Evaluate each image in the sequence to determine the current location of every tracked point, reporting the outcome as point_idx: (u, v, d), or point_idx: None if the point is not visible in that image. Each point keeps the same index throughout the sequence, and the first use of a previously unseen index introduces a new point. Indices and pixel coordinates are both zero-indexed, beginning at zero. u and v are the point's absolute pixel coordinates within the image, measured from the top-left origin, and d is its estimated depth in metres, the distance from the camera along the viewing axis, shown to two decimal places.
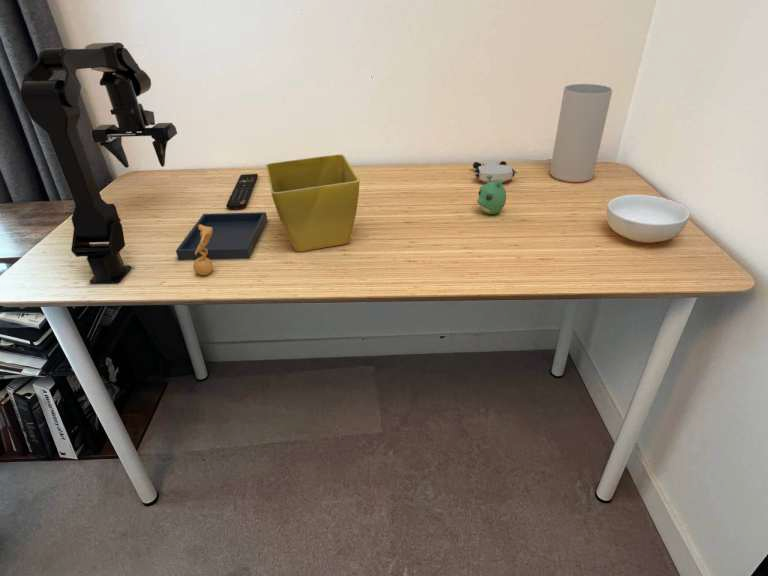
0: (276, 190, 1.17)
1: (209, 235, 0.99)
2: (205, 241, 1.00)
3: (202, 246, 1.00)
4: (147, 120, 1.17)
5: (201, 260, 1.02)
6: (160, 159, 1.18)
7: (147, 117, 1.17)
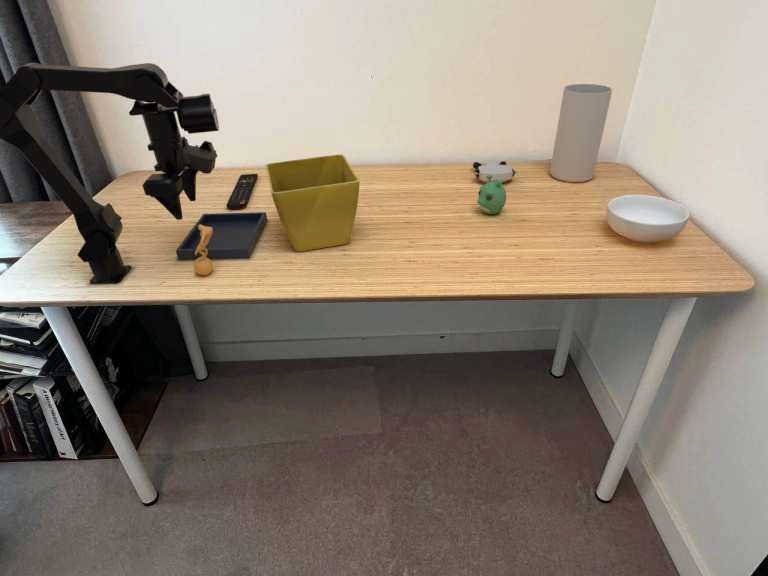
0: (276, 190, 1.17)
1: (209, 235, 0.99)
2: (205, 241, 1.00)
3: (202, 246, 1.00)
4: (179, 164, 0.93)
5: (201, 260, 1.02)
6: None
7: (181, 161, 0.93)
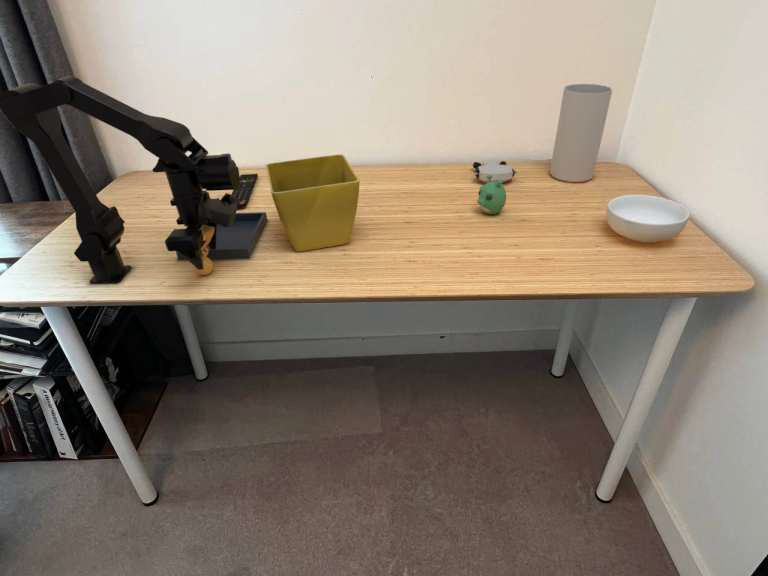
0: (276, 190, 1.17)
1: (211, 234, 0.99)
2: (206, 240, 1.00)
3: (203, 245, 1.00)
4: (201, 219, 0.94)
5: None
6: None
7: (203, 216, 0.94)
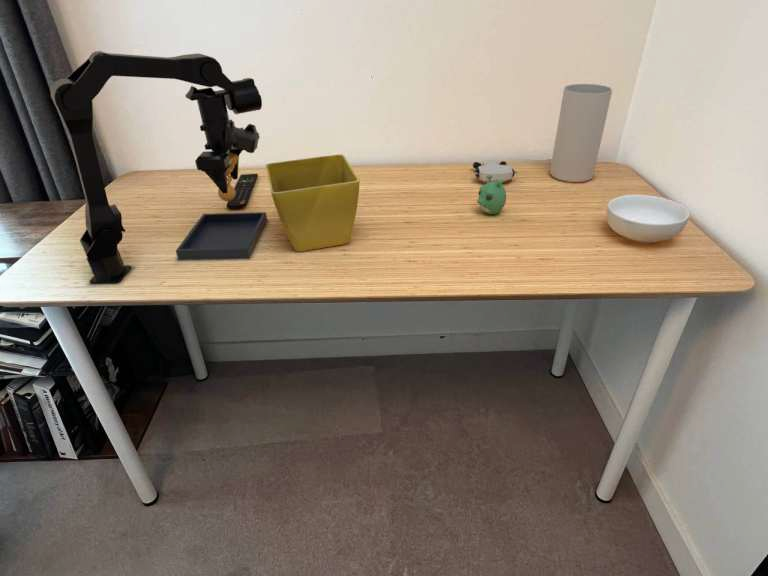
0: (276, 190, 1.17)
1: (235, 161, 1.09)
2: (231, 167, 1.10)
3: (228, 172, 1.10)
4: (227, 144, 1.04)
5: None
6: None
7: (229, 141, 1.04)
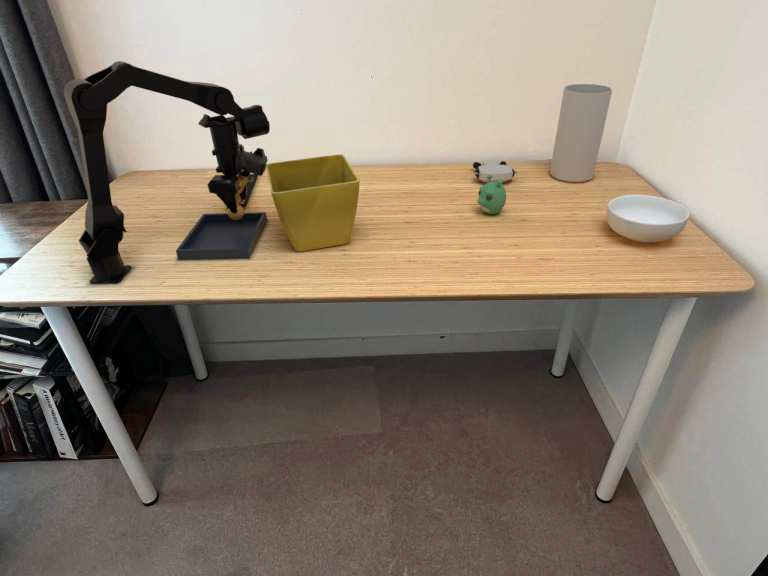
0: (276, 190, 1.17)
1: (244, 183, 1.15)
2: (240, 189, 1.16)
3: (237, 193, 1.16)
4: (237, 168, 1.10)
5: None
6: None
7: (239, 165, 1.10)
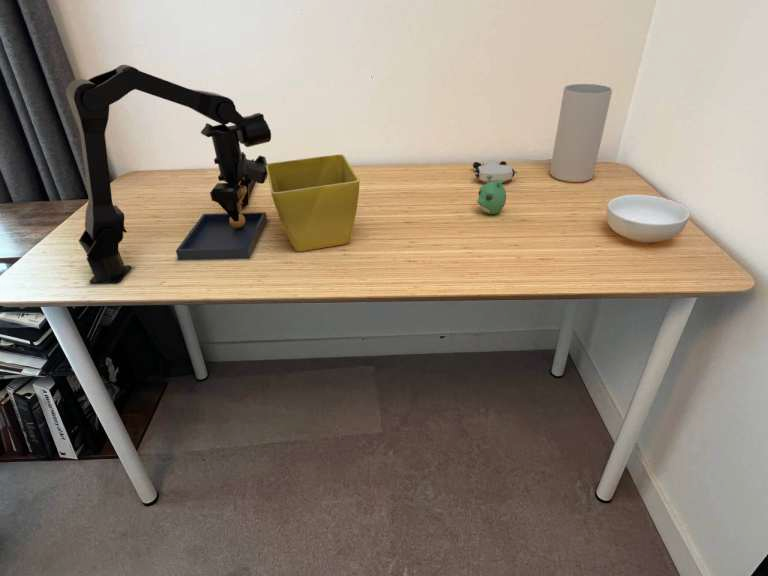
0: (276, 190, 1.17)
1: (244, 192, 1.16)
2: None
3: (238, 202, 1.17)
4: (239, 176, 1.11)
5: None
6: None
7: (241, 173, 1.11)
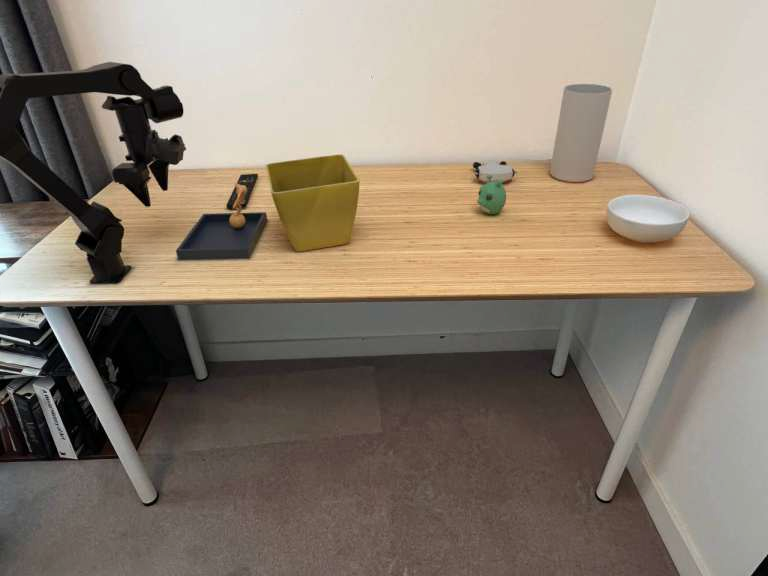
0: (276, 190, 1.17)
1: (244, 192, 1.16)
2: (240, 198, 1.17)
3: (238, 202, 1.17)
4: (148, 155, 1.00)
5: (236, 215, 1.19)
6: None
7: (150, 152, 1.00)
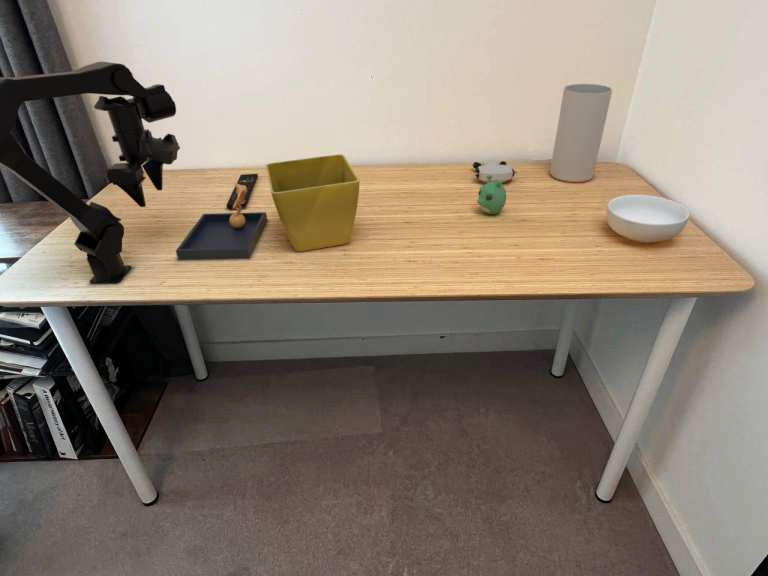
0: (276, 190, 1.17)
1: (244, 192, 1.16)
2: (240, 198, 1.17)
3: (238, 202, 1.17)
4: (142, 155, 1.00)
5: (236, 215, 1.19)
6: None
7: (143, 152, 0.99)
